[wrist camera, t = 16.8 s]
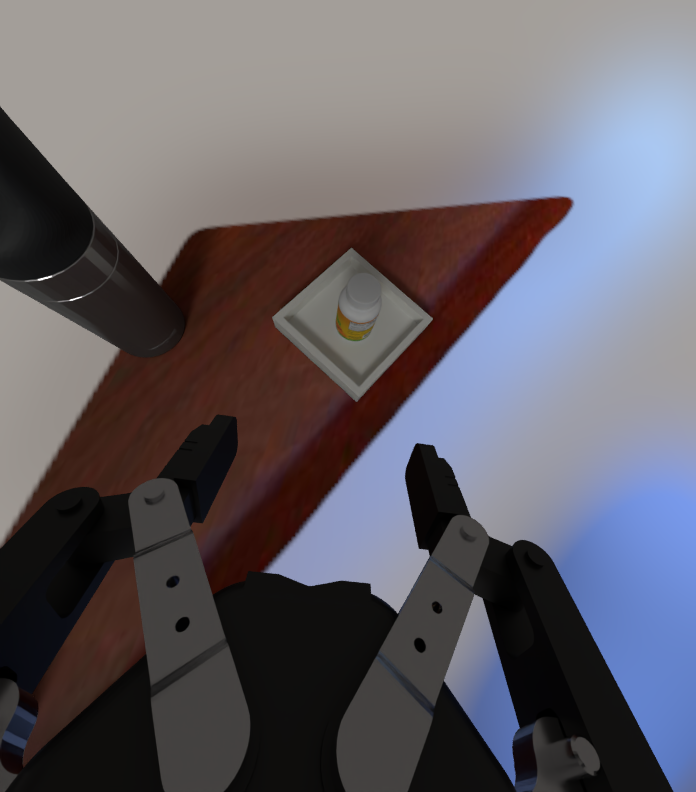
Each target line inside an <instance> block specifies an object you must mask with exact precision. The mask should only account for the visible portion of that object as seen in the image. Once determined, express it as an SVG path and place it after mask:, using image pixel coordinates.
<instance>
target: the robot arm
mask: <svg viewBox="0 0 696 792" xmlns="http://www.w3.org/2000/svg"><path fill="white" fill-rule="evenodd" d="M0 280H1V281H3V282H4V283H6V284H8V285H9V286H11V287H13V288H15V289H16V290H18V291H20V292H22V293H23V294H26V295H27V296H29V297H31V298H33V299H34V300H36V301H38V302H40V303H41V304H43V305H45V306H47V307H48V308H50V309H52V310H54V311H55V312H57V313H59V314H61V315H62V316H64V317H66V318H68V319H70V320H71V321H73V322H75V323H76V324H78V325H80V326H82V327H83V328H85V329H87V330H89V331H91V332H92V333H94V334H96V335H97V336H99V337H101V338H103V339H104V340H106V341H108V342H110V343H111V344H113V345H115V346H116V347H118V348H120V349H122V350H123V351H125V352H127V353H129V354H131V355H134V356H138V357H154V356H158V355H161V354H163V353H166V352H167V351H169V350H170V349H172V348H173V347H174V346H175V345H176V344H177V343H178V342H179V340H180V339H181V337H182V334H183V332H184V326H185V322H184V316H183V314H182V311H181V310H180V308H179V307H178V306H177V305H176V304H175V303H174V301H173V300H172V299H171V298H170V297H169V296H168V295H167V294H166V292H165V291H164V290H163V289H162V288H161V287H160V286H159V284H158V283H157V282H156V281H155V280H154V279H153V278H152V277H151V276H150V274H149V273H148V272H147V271H146V270H145V269H144V268H143V267H142V266H141V264H140V263H139V262H138V261H137V260H136V259H135V258H134V257H133V256H132V254H131V253H130V252H129V251H128V250H127V249H126V248H125V247H124V246H123V244H122V243H121V242H120V241H119V240H118V239H117V238H116V237H115V236H114V235H113V233H112V232H111V231H110V230H109V229H108V228H107V227H106V226H105V225H104V224H103V222H102V221H101V220H100V219H99V218H98V217H97V216H96V215H95V214H94V212H93V211H92V210H91V209H90V208H89V207H88V206H87V205H86V204H85V202H84V201H83V200H82V199H81V198H80V197H79V195H78V194H77V193H76V192H75V191H74V190H73V189H72V188H71V187H70V186H69V184H68V183H67V182H66V181H65V180H64V179H63V178H62V177H61V175H60V174H59V173H58V172H57V171H56V170H55V169H54V167H52V165H51V164H50V163H49V162H48V161H47V160H46V158H45V157H44V156H43V155H42V154H41V153H40V152H39V150H38V149H37V148H36V147H35V146H34V145H33V144H32V142H31V141H30V140H29V139H28V138H27V137H26V136H25V135H24V133H23V132H22V131H21V130H20V129H19V128H18V127H17V125H16V124H15V123H14V122H13V121H12V120H11V119H10V118H9V117H8V115H7V114H6V113H5V112H4V110H3V109H2V108H1V107H0ZM237 447H238V437H237V419H236V417H232V416H225V415H216V416H215V418H214V419H213V421H212V422H211V424H210V425H203V424H202V425H201V426H199V427H198V428H196V429H195V430H193V431H191V433H190V434H189V435H188V437H187V438H186V439H185V442H183V443H182V445H181V446H180V448H179V450H177V452H176V453H175V454H174V456H173V457H172V458H171V460H170V461H169V462H168V464H167V465H166V466H165V468H164V469H163V470H162V472H161V473H160V474H159V476H158V477H157V478H156V479H153V480H150V481H147V482H145V483H143V484H141V485H140V486H138V487H137V488H136V489H135V490H134V491H133V492H132V493H127V494H121V495H113V496H106V497H100V496H99V493H98V492H97V491H96V490H95V489H93V488H89V487H78V488H73V489H69V490H66V491H64V492H61V493H59V494H57V495H56V496H54V497H52V498H51V499H50V500H48V501H47V502H46V503H45V504H44V505H43V506H42V507H41V508H40V509H39V510H38V511H37V512H36V513H35V514H34V515H33V516H32V517H31V518H30V519H29V520H28V521H27V522H26V523H25V524H24V525H23V526H22V527H21V528H20V529H19V531H18V532H17V533H16V534H15V535H14V536H13V537H12V538H11V539H10V540H9V541H8V542H7V543H6V544H5V545H4V546H3V547H2V548H1V549H0V792H673V790H672V788H671V786H670V784H669V782H668V780H667V778H666V776H665V775H664V773H663V771H662V769H661V767H660V765H659V763H658V761H657V759H656V757H655V755H654V754H653V752H652V750H651V748H650V746H649V744H648V742H647V740H646V738H645V736H644V734H643V732H642V731H641V729H640V727H639V725H638V723H637V721H636V719H635V717H634V715H633V713H632V711H631V710H630V708H629V706H628V704H627V702H626V700H625V698H624V696H623V694H622V692H621V690H620V689H619V687H618V685H617V683H616V681H615V679H614V677H613V675H612V673H611V671H610V669H609V668H608V666H607V664H606V662H605V660H604V658H603V656H602V654H601V652H600V650H599V648H598V646H597V645H596V643H595V641H594V639H593V637H592V635H591V633H590V631H589V629H588V627H587V626H586V623H585V622H584V620H583V618H582V616H581V614H580V612H579V610H578V608H577V606H576V604H575V603H574V601H573V599H572V597H571V595H570V593H569V591H568V589H567V587H566V585H565V583H564V581H563V580H562V578H561V576H560V574H559V572H558V570H557V568H556V566H555V564H554V562H553V561H552V559H551V558H550V556H549V555H548V554H547V553H546V552H545V551H544V550H543V549H542V548H540V547H539V546H537V545H536V544H534V543H532V542H529V541H526V540H519V541H517V542H515V543H514V545H513V546H510V545H508V544H506V543H503V542H501V541H498V540H496V539H493V538H491V537H489V536H488V534H487V532H486V531H485V529H484V528H483V527H482V525H481V524H480V523H478V522H477V521H476V520H474V519H472V518H471V516H470V514H469V512H468V509H467V506H466V503H465V501H464V498H463V496H462V493H461V491H460V488H459V487H458V483H457V481H456V479H455V475H454V473H453V470H452V468H451V466H450V465H449V464H448V463H447V462H446V460H445V459H444V458H438V455H437V453H436V450H435V447H434V446H433V445H426V444H419V443H417V444H416V445H415V447H414V449H413V451H412V454H411V457H410V459H409V462H408V464H407V467H406V473H405V480H406V486H407V491H408V496H409V501H410V506H411V511H412V516H413V521H414V527H415V532H416V537H417V542H418V547H419V549H426V550H429V555H430V557H429V559H428V561H427V563H426V565H425V566H424V568H423V570H422V572H421V573H420V575H419V577H418V579H417V581H416V582H415V584H414V586H413V588H412V590H411V592H410V593H409V595H408V597H407V599H406V600H405V602H404V604H403V606H402V607H401V609H400V611H399V613H398V614H397V613H396V611H395V610H394V609H393V608H392V607H390V605H388V604H387V603H386V602H384V601H383V600H382V599H380V598H378V597H377V596H375V595H373V594H371V586H370V584H368V583H359V582H349V581H337V582H332V583H327V584H321V585H315V586H307V585H304V584H302V583H299V582H297V581H294V580H292V579H289V578H287V577H284V576H282V575H279V574H271V573H261V572H251V571H248V574H247V578H246V581H243V582H238V583H235V584H232V585H230V586H228V587H225V588H223V589H221V590H220V591H218V592H216V593H215V594H213V595H212V593H211V589H210V586H209V583H208V580H207V576H206V573H205V570H204V567H203V563H202V560H201V557H200V554H199V550H198V547H197V544H196V541H195V537H194V534H193V531H192V530H191V528H190V527H191V525H192V523H193V522H196V523H203V522H204V520H205V518H206V516H207V514H208V511H209V509H210V507H211V505H212V503H213V501H214V499H215V497H216V495H217V493H218V491H219V489H220V487H221V485H222V483H223V481H224V479H225V477H226V475H227V472H228V470H229V468H230V466H231V464H232V462H233V460H234V458H235V456H236V452H237ZM129 557H134V567H135V574H136V581H137V588H138V596H139V603H140V610H141V617H142V625H143V632H144V639H145V646H146V654H145V655H144V656H143V657H142V658H141V659H140V660H139V661H138V662H137V663H136V664H134V665H133V666H132V667H131V668H130V669H129V670H128V671H127V672H126V673H124V674H123V675H122V676H121V677H120V678H119V679H118V680H117V681H116V682H114V683H113V684H112V685H111V686H110V687H109V688H108V689H107V690H106V691H104V692H103V693H102V694H101V695H100V696H99V697H98V698H97V699H96V700H95V701H93V702H92V703H91V704H90V705H89V706H88V707H87V708H86V709H85V710H83V711H82V712H81V713H80V714H79V715H78V716H77V717H76V718H75V719H73V720H72V721H71V722H70V723H69V724H68V725H67V726H66V727H65V728H63V729H62V730H61V731H60V732H59V733H58V734H57V735H56V736H55V737H54V738H52V739H51V740H50V741H49V742H48V743H47V744H46V745H45V746H44V747H43V748H42V749H41V750H40V751H39V752H38V753H37V754H36V755H35V756H34V757H33V758H32V759H31V760H30V761H29V762H28V763H27V764H26V766H25V767H24V768H23V754H24V749H25V746H26V743H27V741H28V738H29V736H30V734H31V732H32V730H33V728H34V725H35V723H36V720H37V715H38V703H37V700H36V698H35V697H34V696H33V695H31V694H32V693H33V691H34V690H35V688H36V686H37V685H38V683H39V682H40V680H41V678H42V677H43V675H44V674H45V672H46V670H47V669H48V667H49V666H50V664H51V662H52V661H53V659H54V657H55V656H56V654H57V653H58V651H59V649H60V648H61V646H62V645H63V643H64V641H65V640H66V638H67V637H68V635H69V633H70V632H71V630H72V629H73V627H74V625H75V624H76V622H77V620H78V619H79V617H80V616H81V614H82V612H83V611H84V609H85V608H86V606H87V604H88V603H89V601H90V600H91V598H92V596H93V595H94V593H95V592H96V590H97V588H98V587H99V585H100V584H101V582H102V580H103V579H104V577H105V575H106V574H107V572H108V571H109V569H110V567H111V566H112V564H113V563H114V561H115V560H119V559H124V558H129ZM474 594H475V595H478V596H479V597H482V598H483V601H484V604H485V608H486V612H487V615H488V619H489V622H490V626H491V629H492V633H493V636H494V640H495V643H496V647H497V650H498V654H499V657H500V660H501V664H502V667H503V671H504V674H505V678H506V682H507V685H508V688H509V692H510V695H511V699H512V702H513V706H514V709H515V712H516V716H517V720H518V723H519V727H520V729H518V730H517V732H516V733H515V736H514V738H513V746H512V748H513V758H514V768H515V772H516V780H515V786H513V784H512V782H511V780H510V779H509V777H508V775H507V773H506V772H505V770H504V769H503V768H502V766H501V764H500V763H499V762H498V760H497V759H496V757H495V756H494V754H493V753H492V751H491V750H490V748H489V747H488V745H487V744H486V742H485V741H484V739H483V738H482V736H481V735H480V733H479V732H478V731H477V729H476V728H475V726H474V725H473V723H472V722H471V720H470V719H469V717H468V716H467V714H466V713H465V711H464V710H463V708H462V707H461V706H460V704H459V702H458V701H457V700H456V698H455V697H454V695H453V694H452V692H451V691H450V689H449V688H448V686H447V685H446V683H445V682H444V678H445V675H446V672H447V670H448V667H449V664H450V661H451V658H452V656H453V653H454V650H455V647H456V644H457V641H458V639H459V636H460V633H461V631H462V627H463V625H464V622H465V619H466V616H467V613H468V611H469V608H470V605H471V603H472V600H473V597H474Z"/></svg>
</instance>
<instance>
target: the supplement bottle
mask: <svg viewBox="0 0 696 792" xmlns="http://www.w3.org/2000/svg"><path fill="white" fill-rule="evenodd" d="M380 294H381V285H380V282H379V281H378V279H377V278H376V277H374V276H373V275H371V274H368V273H358V274H355V275H353V276H352V277H351V278H350V279H349V281H348V284H347V285H346V286H345V287H344V288H343V290H342V291H341V293H340V296H339V301H338V309H337V315H336V330H337V332H338V334H339V335H340V336H341V337H342V338H343V339H345V340H347V341H350V342H360V341H362V340H364V339H366V338H367V337H368V336H369V335H370V333H371V331H372V329H373V326H374V324H375V322H376V319H377V317H378V315H379V312H380V310H381V305H382V299H381V295H380Z"/></svg>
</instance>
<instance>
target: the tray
mask: <svg viewBox="0 0 696 792" xmlns="http://www.w3.org/2000/svg"><path fill="white" fill-rule="evenodd" d="M358 273H368V274H371V275H373V276H374V277H376V278H377V279H378V281H379V282H380V285H381V294H380V295H381V299H382V305H381V310H380V312H379V315H378V317H377V319H376V322H375V324H374V326H373V329H372V331H371V333H370V335H369V336H368V337H367V338H366V339H364V340H362V341H360V342H350V341H347V340H345V339H343V338H342V337H341V336H340V335H339V334H338V332H337V330H336V315H337V309H338V301H339V296H340V293H341V291H342V290H343V288H344V287H345V286H346V285H347V284H348V281H349V279H350V278H351V277H352V276H353V275H355V274H358ZM272 318H273V321H274V324H275V327H276V328H277V329H278V330H279V331H280V332H281V333H282V334H283V335H284V336H285V337H287V338H288V339H289V340H290V341H291V342H292V343H293V344H294V345H295V346H296V347H297V348H299V349H300V350H301V351H302V352H303V353H304V354H305V355H306V356H307V357H308V358H309V359H310V360H312V361H313V362H314V363H315V364H316V365H317V366H318V367H319V368H320V369H321V370H322V371H324V372H325V373H326V374H327V375H328V376H329V377H330V378H331V379H332V380H333V381H334V382H335V383H337V384H338V385H339V386H340V387H341V388H342V389H343V390H344V391H345V392H346V393H347V394H349V395H350V396H351V397H352V398H353V399H354V400H355V401H356V402H357V401H358V400H359V399H360V398H361V396H362V395H363V394H364V393H365V392H366V391H367V390H368V389H369V388H370V387H371V386H372V385H373V384H374V383H375V381H376V380H377V379H378V378H379V377H380V376H381V375H382V374H383V373H384V372H385V371H386V370H387V369H388V368H389V367H390V365H391V364H392V363H393V362H394V361H395V360H396V359H397V358H398V357H399V356H400V355H401V354H402V353H403V352H404V350H405V349H406V348H407V347H408V346H409V345H410V344H411V343H412V342H413V341H414V340H415V339H416V338H417V337H418V336H419V334H420V333H421V332H422V331H423V330H424V329H425V328H426V327H427V326H428V324H429V323H430V322H431V321H432V320H433V318H431V317H430V316H429V315H428V314H427V313H426V312H425V311H423V310H422V309H421V308H420V307H419V306H418V305H417V304H415V303H414V302H413V301H412V300H411V299H410V298H408V297H407V296H406V295H405V294H404V293H403V292H402V291H400V290H399V289H398V288H397V287H396V286H395V285H394V284H392V283H391V282H390V281H389V280H388V279H387V278H386V277H384V276H383V275H382V274H381V273H380V272H379V271H377V270H376V269H375V268H374V267H373V266H372V265H371V264H369V263H368V262H367V261H366V260H365V259H364V258H363V257H361V256H360V255H359V254H358V253H357V252H356V251H355V250H353V249H352V248H351V249H349V250H348V251H347V252H346V253H345V254H344V255H343V256H342V257H340V258H339V259H338V260H337V261H336V262H335V263H334V264H332V265H331V266H330V267H329V268H328V269H327V270H326V271H324V272H323V273H322V274H321V275H320V276H319V277H318V278H317V279H315V280H314V281H313V282H312V283H311V284H310V285H309V286H307V287H306V288H305V289H304V290H303V291H302V292H301V293H299V294H298V295H297V296H296V297H295V298H294V299H293V300H291V301H290V302H289V303H288V304H287V305H286V306H285V307H284V308H282V309H281V310H280V311H279V312H278V313H277V314H276V315H274V316H273V317H272Z"/></svg>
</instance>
